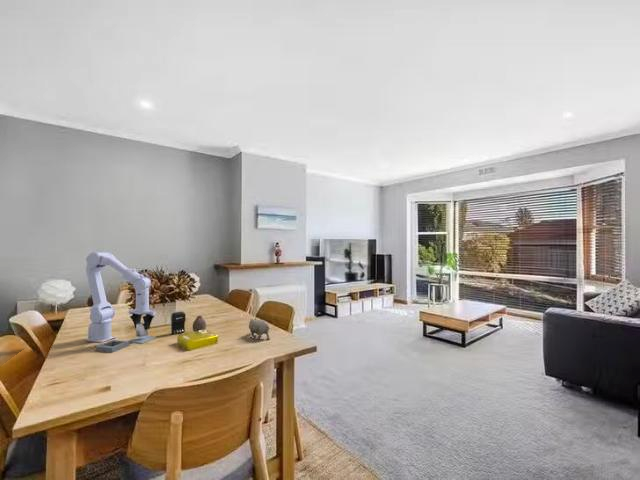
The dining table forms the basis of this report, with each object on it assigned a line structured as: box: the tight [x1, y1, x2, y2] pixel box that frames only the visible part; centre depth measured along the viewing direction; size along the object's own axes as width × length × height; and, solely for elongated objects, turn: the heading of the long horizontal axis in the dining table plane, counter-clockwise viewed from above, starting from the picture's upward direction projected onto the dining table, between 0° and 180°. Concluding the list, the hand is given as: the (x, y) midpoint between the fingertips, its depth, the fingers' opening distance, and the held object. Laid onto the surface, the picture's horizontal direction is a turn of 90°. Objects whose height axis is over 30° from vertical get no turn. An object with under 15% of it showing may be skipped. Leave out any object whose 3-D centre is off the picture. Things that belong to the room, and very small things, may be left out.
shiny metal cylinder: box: [135, 321, 149, 338], centre depth 153 cm, size 5×5×6 cm
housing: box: [95, 339, 130, 353], centre depth 141 cm, size 9×9×2 cm
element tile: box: [176, 329, 219, 351], centre depth 149 cm, size 15×15×5 cm
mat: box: [128, 335, 158, 345], centre depth 153 cm, size 9×9×1 cm
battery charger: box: [170, 310, 187, 335], centre depth 165 cm, size 7×4×11 cm, turn 132°
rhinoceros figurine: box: [248, 317, 271, 340], centre depth 158 cm, size 8×14×15 cm
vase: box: [192, 315, 207, 332], centre depth 166 cm, size 7×7×9 cm
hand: (142, 329), depth 153 cm, fingers closed on shiny metal cylinder, 5 cm apart
